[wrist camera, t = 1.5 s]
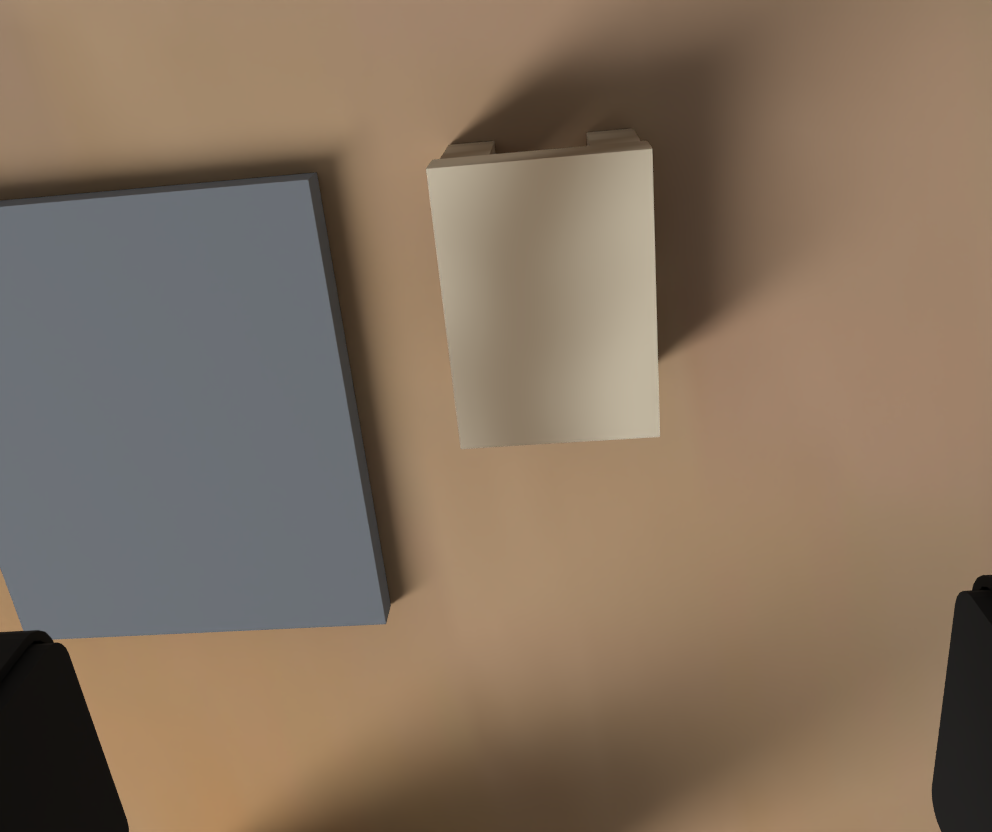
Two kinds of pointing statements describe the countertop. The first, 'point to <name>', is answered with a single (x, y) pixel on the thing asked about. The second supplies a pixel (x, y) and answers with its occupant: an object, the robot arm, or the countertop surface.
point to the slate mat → (180, 415)
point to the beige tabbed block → (549, 290)
